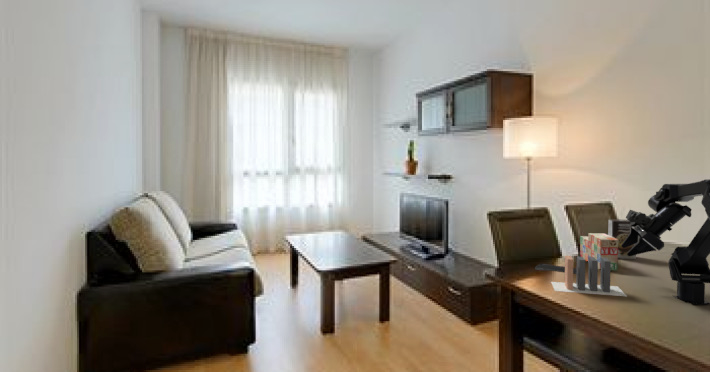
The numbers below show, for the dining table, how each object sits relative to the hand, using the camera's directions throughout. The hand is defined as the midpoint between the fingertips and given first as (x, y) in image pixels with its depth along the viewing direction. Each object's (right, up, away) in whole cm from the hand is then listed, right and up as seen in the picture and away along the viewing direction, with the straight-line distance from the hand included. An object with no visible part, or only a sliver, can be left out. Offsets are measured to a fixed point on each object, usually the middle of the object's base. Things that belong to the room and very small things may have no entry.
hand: (625, 251), depth 135 cm
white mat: (-16, -12, -4) cm, 20 cm away
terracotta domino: (-21, -12, -3) cm, 24 cm away
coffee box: (+24, -9, +37) cm, 45 cm away
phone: (-13, -11, +20) cm, 26 cm away
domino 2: (-14, -12, -5) cm, 19 cm away
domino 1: (-17, -12, -4) cm, 21 cm away
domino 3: (-11, -12, -6) cm, 17 cm away
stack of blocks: (+8, -10, +28) cm, 31 cm away
